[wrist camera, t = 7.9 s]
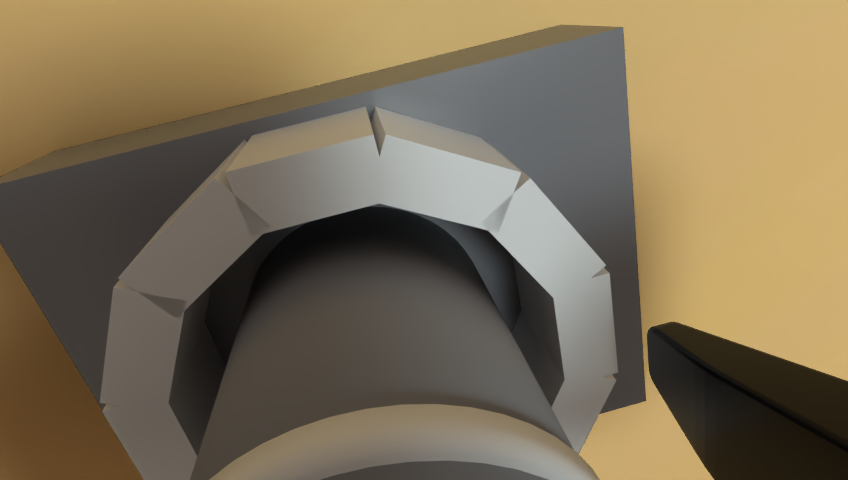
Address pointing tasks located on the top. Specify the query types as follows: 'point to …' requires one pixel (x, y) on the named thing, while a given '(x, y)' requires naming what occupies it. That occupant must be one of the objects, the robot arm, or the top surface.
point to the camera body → (334, 194)
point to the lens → (378, 366)
